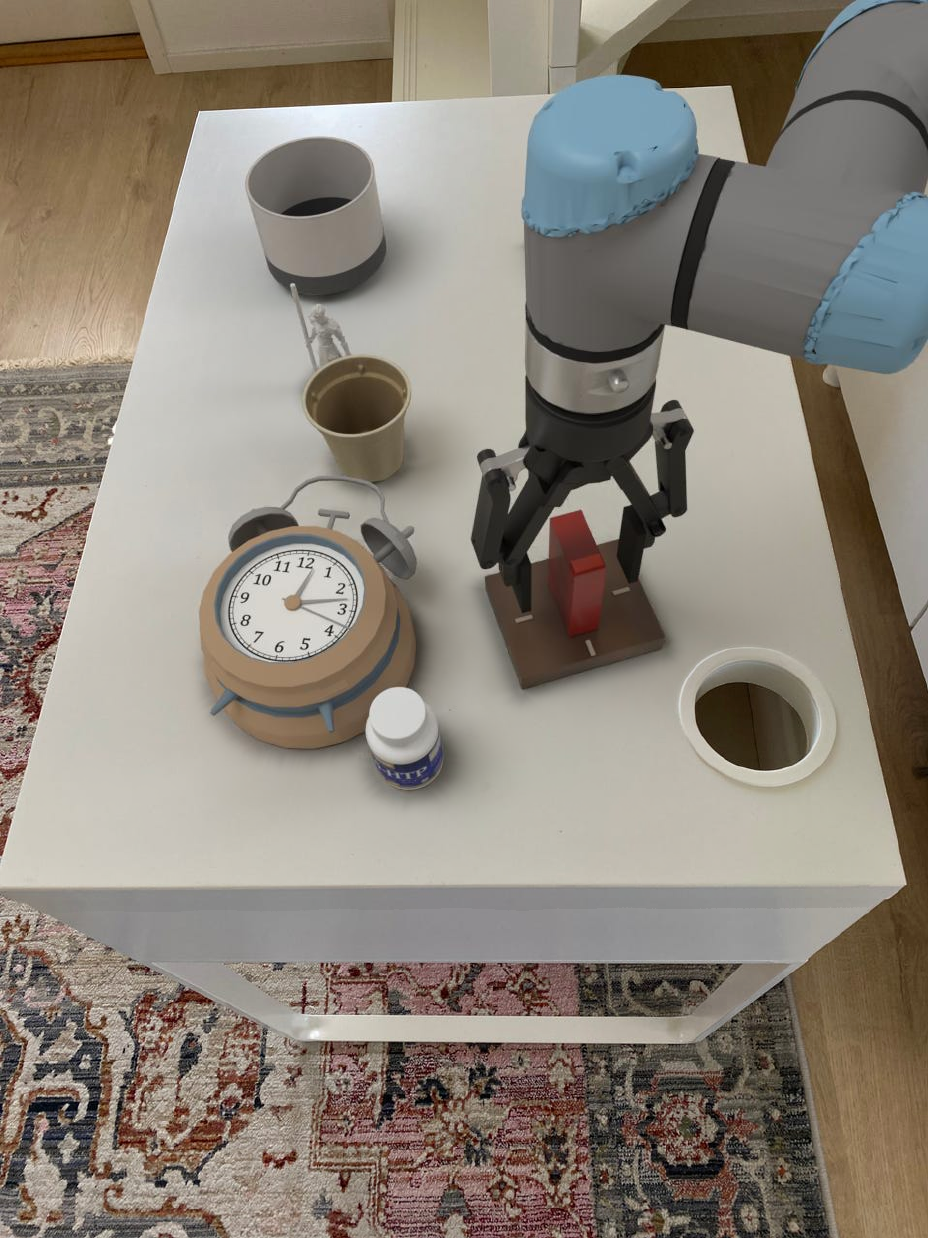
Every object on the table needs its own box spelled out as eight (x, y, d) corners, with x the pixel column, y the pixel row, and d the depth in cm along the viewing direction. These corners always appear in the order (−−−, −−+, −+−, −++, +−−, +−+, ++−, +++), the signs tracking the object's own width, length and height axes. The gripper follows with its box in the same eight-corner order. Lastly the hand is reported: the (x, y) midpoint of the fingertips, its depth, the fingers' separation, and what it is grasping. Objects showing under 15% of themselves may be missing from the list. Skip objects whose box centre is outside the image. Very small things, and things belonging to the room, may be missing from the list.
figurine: (301, 397, 92) (272, 300, 82) (328, 361, 94) (303, 262, 84) (347, 413, 91) (324, 316, 80) (373, 376, 93) (353, 277, 83)
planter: (247, 264, 103) (219, 177, 94) (339, 208, 106) (321, 120, 97) (317, 322, 97) (295, 236, 88) (412, 262, 101) (400, 174, 92)
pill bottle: (370, 787, 72) (351, 743, 64) (383, 724, 74) (366, 674, 67) (439, 795, 71) (428, 751, 63) (449, 731, 74) (440, 681, 66)
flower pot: (410, 504, 85) (399, 440, 77) (310, 494, 86) (289, 431, 79) (429, 425, 90) (420, 357, 82) (333, 417, 91) (315, 350, 83)
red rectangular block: (547, 582, 78) (549, 515, 70) (576, 574, 78) (581, 506, 70) (569, 637, 75) (573, 575, 67) (599, 629, 75) (607, 565, 67)
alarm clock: (142, 684, 67) (237, 436, 78) (184, 735, 75) (264, 503, 86) (375, 717, 64) (438, 456, 76) (392, 766, 72) (447, 523, 84)
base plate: (618, 551, 81) (620, 536, 79) (662, 648, 76) (666, 635, 74) (485, 588, 80) (484, 575, 78) (521, 689, 75) (521, 677, 73)
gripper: (432, 466, 51) (459, 659, 71) (789, 372, 53) (718, 587, 72) (399, 370, 55) (433, 579, 74) (734, 285, 56) (681, 512, 76)
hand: (574, 583), depth 73 cm, fingers open, 8 cm apart
